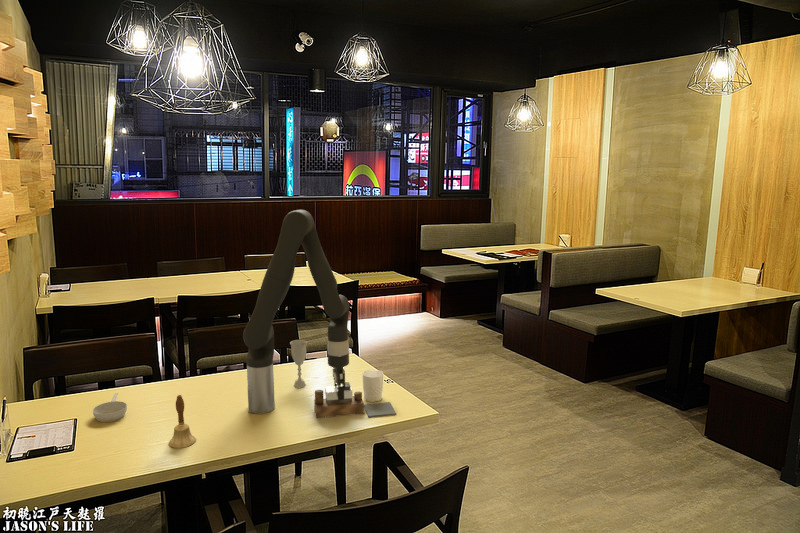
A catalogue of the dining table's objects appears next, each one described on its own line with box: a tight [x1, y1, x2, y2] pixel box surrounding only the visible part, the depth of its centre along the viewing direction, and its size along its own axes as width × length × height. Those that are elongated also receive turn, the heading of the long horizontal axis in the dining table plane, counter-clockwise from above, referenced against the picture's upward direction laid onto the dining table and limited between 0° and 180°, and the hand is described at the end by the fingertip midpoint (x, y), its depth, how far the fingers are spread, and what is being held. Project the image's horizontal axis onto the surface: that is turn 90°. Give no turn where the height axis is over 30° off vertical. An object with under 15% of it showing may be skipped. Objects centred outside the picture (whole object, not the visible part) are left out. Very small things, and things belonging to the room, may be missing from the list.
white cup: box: [361, 369, 384, 402], centre depth 221 cm, size 8×8×10 cm
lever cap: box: [324, 381, 353, 400], centre depth 208 cm, size 9×6×4 cm, turn 104°
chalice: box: [289, 339, 308, 389], centre depth 232 cm, size 7×7×18 cm
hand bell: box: [168, 394, 197, 449], centre depth 185 cm, size 8×8×16 cm
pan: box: [92, 392, 128, 423], centre depth 208 cm, size 11×18×4 cm, turn 16°
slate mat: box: [364, 401, 397, 418], centre depth 211 cm, size 10×10×1 cm
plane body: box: [313, 389, 365, 419], centre depth 209 cm, size 17×7×8 cm, turn 104°
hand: (339, 394), depth 208 cm, fingers open, 8 cm apart
